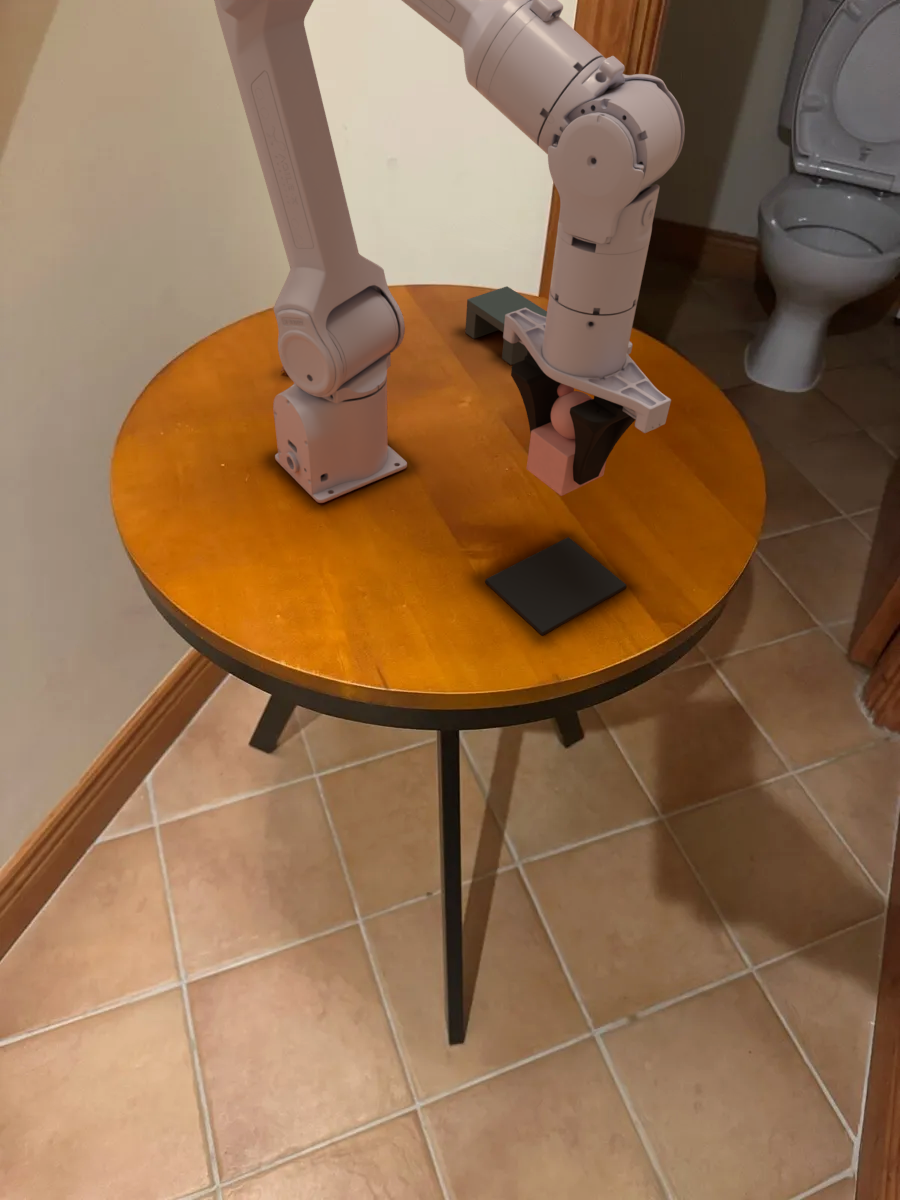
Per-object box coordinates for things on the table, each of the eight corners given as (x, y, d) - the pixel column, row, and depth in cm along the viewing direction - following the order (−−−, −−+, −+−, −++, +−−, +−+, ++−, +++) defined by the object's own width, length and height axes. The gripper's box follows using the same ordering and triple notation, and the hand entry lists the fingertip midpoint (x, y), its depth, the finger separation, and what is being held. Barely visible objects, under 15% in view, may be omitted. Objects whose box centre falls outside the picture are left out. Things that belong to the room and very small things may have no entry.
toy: (561, 496, 67) (574, 414, 62) (526, 469, 69) (536, 387, 64) (603, 475, 69) (620, 394, 64) (568, 449, 71) (581, 369, 66)
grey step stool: (511, 365, 96) (514, 331, 93) (465, 332, 100) (467, 299, 97) (550, 350, 98) (555, 316, 95) (503, 319, 102) (507, 285, 100)
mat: (542, 635, 69) (542, 632, 69) (484, 582, 73) (485, 579, 72) (626, 588, 73) (627, 584, 73) (567, 540, 77) (568, 536, 76)
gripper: (720, 324, 56) (673, 493, 66) (563, 238, 64) (542, 401, 74) (641, 356, 53) (603, 530, 63) (486, 262, 61) (474, 429, 71)
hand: (565, 463), depth 68 cm, fingers closed on toy, 4 cm apart
